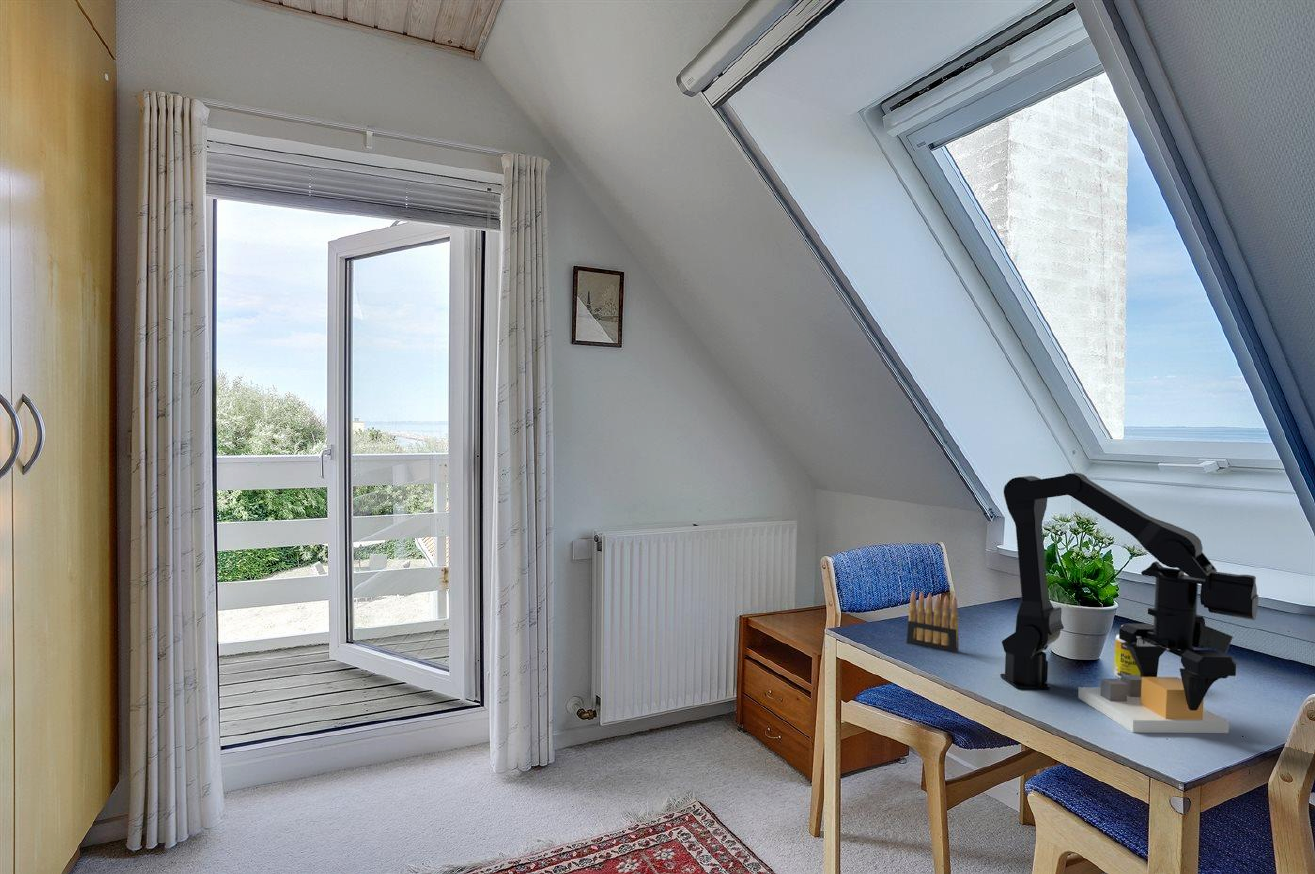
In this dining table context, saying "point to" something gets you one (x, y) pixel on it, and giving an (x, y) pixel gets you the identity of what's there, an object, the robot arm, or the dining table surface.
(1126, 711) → the board
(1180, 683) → the orange block
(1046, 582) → the robot arm
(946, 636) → the ammunition clip
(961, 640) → the dining table surface
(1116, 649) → the supplement bottle
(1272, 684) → the dining table surface
